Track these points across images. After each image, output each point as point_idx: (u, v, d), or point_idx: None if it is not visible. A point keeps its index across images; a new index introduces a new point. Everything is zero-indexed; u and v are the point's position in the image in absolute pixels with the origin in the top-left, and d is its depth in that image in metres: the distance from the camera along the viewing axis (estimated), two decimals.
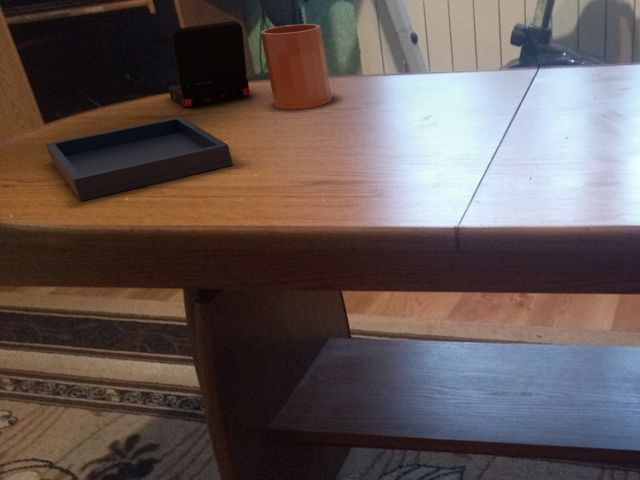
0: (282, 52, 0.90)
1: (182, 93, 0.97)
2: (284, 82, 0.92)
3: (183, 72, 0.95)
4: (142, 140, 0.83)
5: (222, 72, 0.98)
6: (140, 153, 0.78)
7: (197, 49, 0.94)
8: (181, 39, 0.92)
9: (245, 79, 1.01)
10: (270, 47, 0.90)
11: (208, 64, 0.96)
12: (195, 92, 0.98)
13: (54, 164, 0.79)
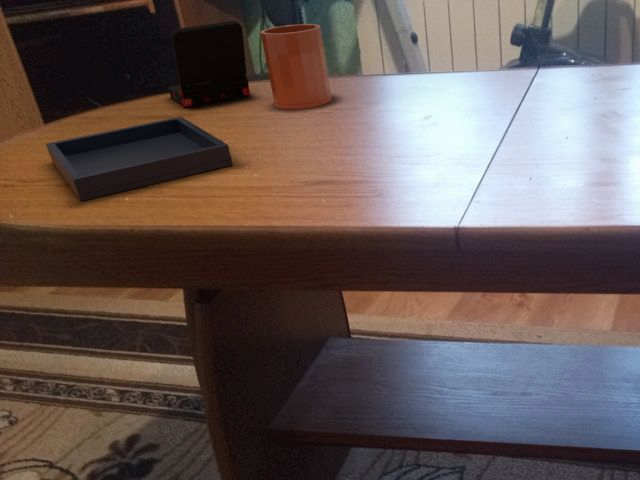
0: (282, 52, 0.90)
1: (182, 93, 0.97)
2: (284, 82, 0.92)
3: (183, 72, 0.95)
4: (142, 140, 0.83)
5: (222, 72, 0.98)
6: (140, 153, 0.78)
7: (197, 49, 0.94)
8: (181, 39, 0.92)
9: (245, 79, 1.01)
10: (270, 47, 0.90)
11: (208, 64, 0.96)
12: (195, 92, 0.98)
13: (54, 164, 0.79)
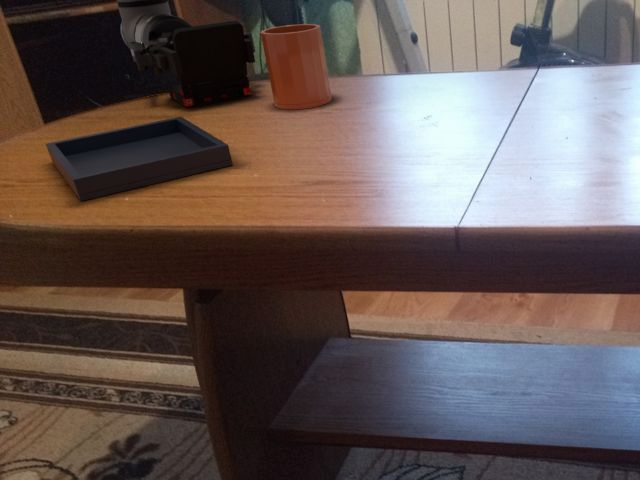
0: (282, 52, 0.90)
1: (183, 93, 0.97)
2: (284, 82, 0.92)
3: (184, 72, 0.95)
4: (142, 140, 0.83)
5: (223, 72, 0.98)
6: (140, 153, 0.78)
7: (198, 49, 0.94)
8: (183, 39, 0.92)
9: (246, 79, 1.01)
10: (270, 47, 0.90)
11: (209, 64, 0.96)
12: (196, 92, 0.98)
13: (54, 164, 0.79)
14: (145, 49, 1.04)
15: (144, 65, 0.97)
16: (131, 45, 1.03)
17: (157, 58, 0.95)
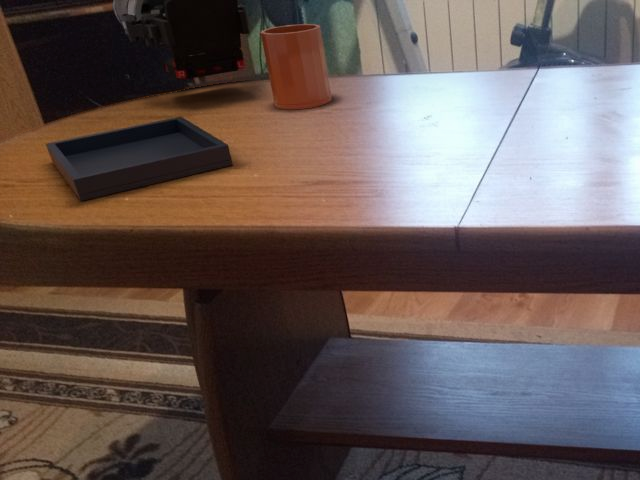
0: (282, 52, 0.90)
1: (175, 64, 0.95)
2: (284, 82, 0.92)
3: (176, 42, 0.94)
4: (142, 140, 0.83)
5: (216, 43, 0.96)
6: (140, 153, 0.78)
7: (191, 18, 0.92)
8: (175, 7, 0.90)
9: (240, 51, 0.99)
10: (270, 47, 0.90)
11: (202, 35, 0.95)
12: (189, 64, 0.96)
13: (54, 164, 0.79)
14: (137, 21, 1.02)
15: (136, 36, 0.95)
16: (123, 17, 1.01)
17: (149, 28, 0.93)
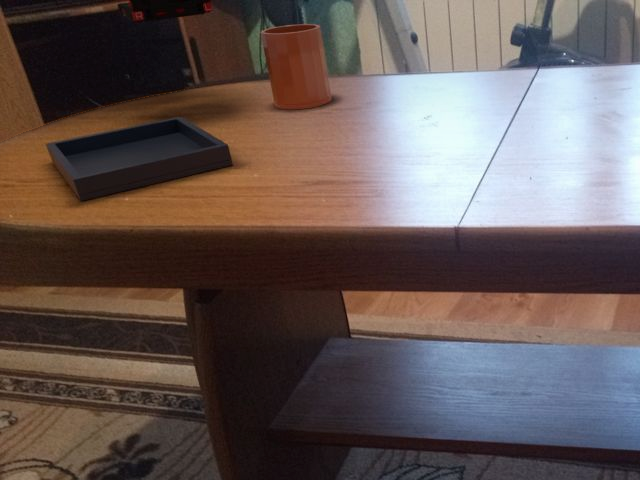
0: (282, 52, 0.90)
1: (132, 4, 0.84)
2: (284, 82, 0.92)
3: None
4: (142, 140, 0.83)
5: None
6: (140, 153, 0.78)
7: None
8: None
9: None
10: (270, 47, 0.90)
11: None
12: (147, 4, 0.85)
13: (54, 164, 0.79)
14: None
15: None
16: None
17: None
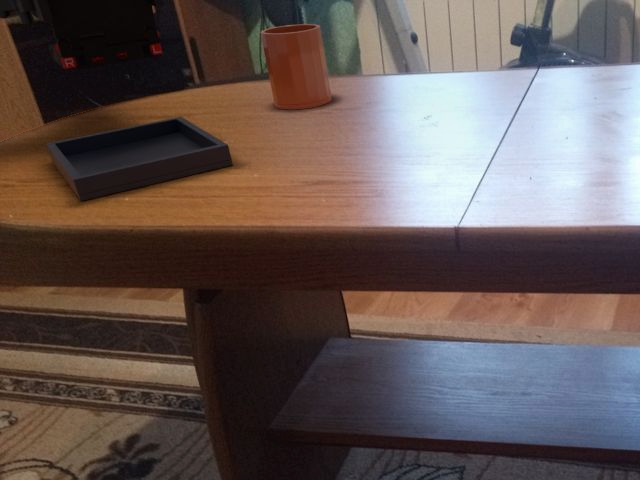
0: (282, 52, 0.90)
1: (59, 49, 0.68)
2: (284, 82, 0.92)
3: (57, 17, 0.66)
4: (142, 140, 0.83)
5: (118, 19, 0.69)
6: (140, 153, 0.78)
7: None
8: None
9: (154, 31, 0.72)
10: (270, 47, 0.90)
11: (95, 6, 0.67)
12: (79, 48, 0.69)
13: (54, 164, 0.79)
14: None
15: (3, 9, 0.68)
16: None
17: None
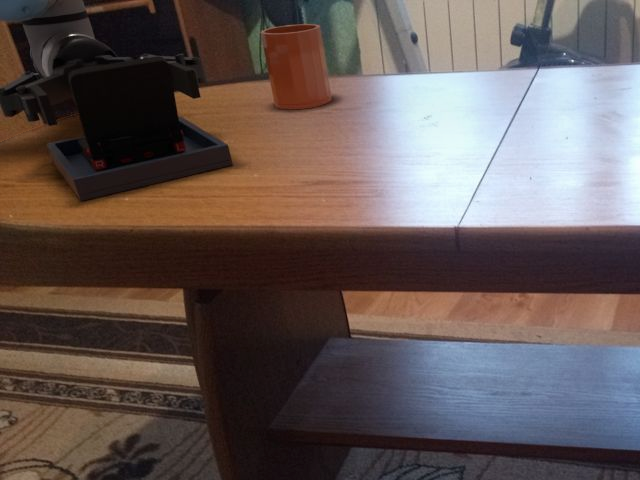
0: (282, 52, 0.90)
1: (91, 153, 0.72)
2: (284, 82, 0.92)
3: (90, 126, 0.71)
4: None
5: (145, 124, 0.74)
6: None
7: (107, 95, 0.69)
8: (83, 83, 0.67)
9: (178, 131, 0.76)
10: (270, 47, 0.90)
11: (125, 114, 0.72)
12: (109, 151, 0.73)
13: (54, 164, 0.79)
14: None
15: (9, 109, 0.72)
16: None
17: (23, 101, 0.70)
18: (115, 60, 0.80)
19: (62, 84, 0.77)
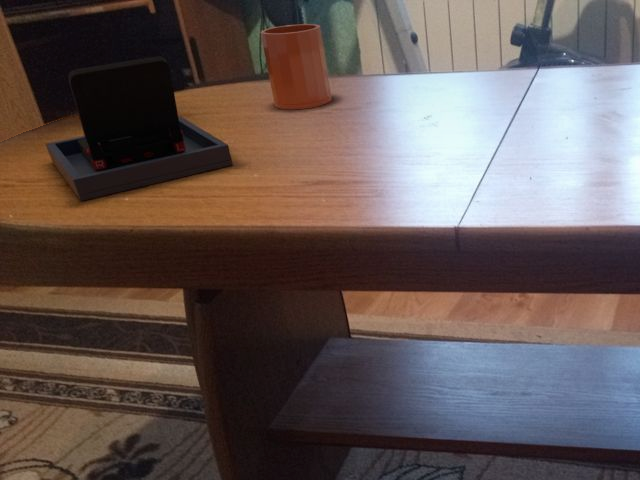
0: (282, 52, 0.90)
1: (91, 153, 0.72)
2: (284, 82, 0.92)
3: (90, 126, 0.71)
4: None
5: (145, 124, 0.74)
6: None
7: (107, 95, 0.69)
8: (83, 83, 0.67)
9: (178, 131, 0.76)
10: (270, 47, 0.90)
11: (125, 114, 0.72)
12: (109, 151, 0.73)
13: (54, 164, 0.79)
14: None
15: None
16: None
17: None
18: None
19: None
